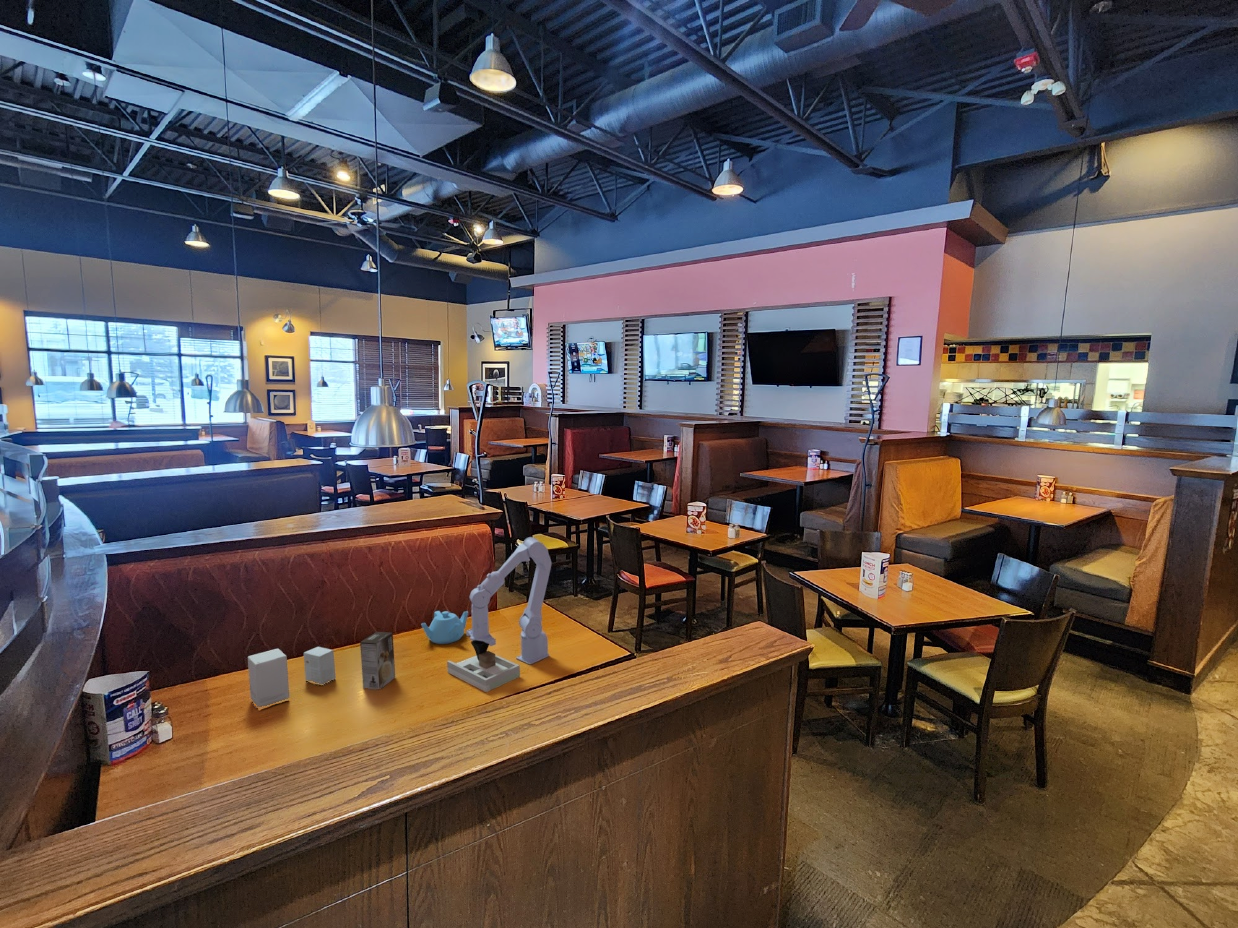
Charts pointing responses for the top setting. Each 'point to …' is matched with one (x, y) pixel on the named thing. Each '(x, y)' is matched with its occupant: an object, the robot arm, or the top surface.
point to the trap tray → (484, 672)
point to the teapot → (446, 627)
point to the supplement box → (268, 677)
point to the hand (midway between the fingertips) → (481, 659)
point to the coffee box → (377, 660)
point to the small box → (319, 665)
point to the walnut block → (487, 659)
